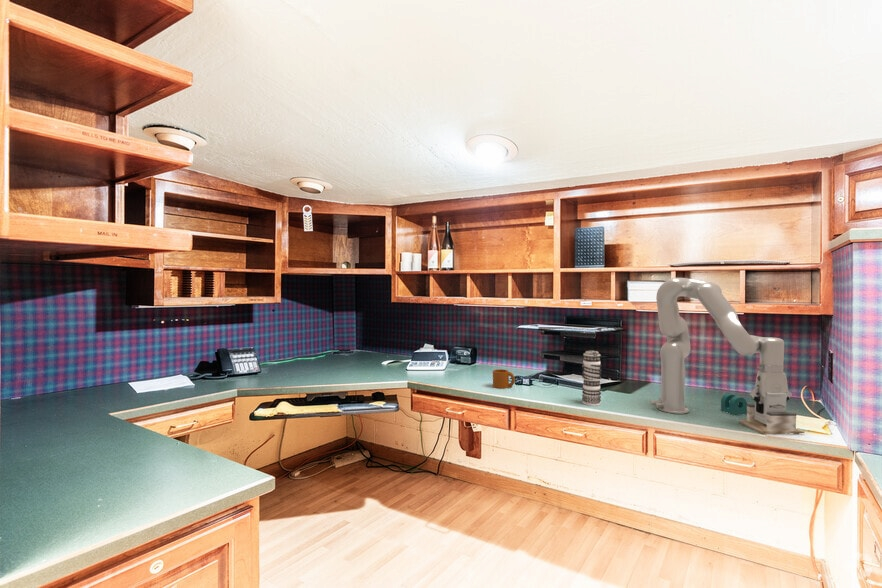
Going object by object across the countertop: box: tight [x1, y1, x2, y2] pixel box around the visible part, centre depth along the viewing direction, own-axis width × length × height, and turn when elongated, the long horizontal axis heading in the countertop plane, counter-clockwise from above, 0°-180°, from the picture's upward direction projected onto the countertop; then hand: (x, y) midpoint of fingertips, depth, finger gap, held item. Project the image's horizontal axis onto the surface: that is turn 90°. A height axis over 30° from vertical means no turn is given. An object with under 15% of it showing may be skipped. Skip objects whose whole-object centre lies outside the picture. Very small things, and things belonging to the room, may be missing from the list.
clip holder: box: [738, 403, 805, 435], centre depth 171 cm, size 16×13×8 cm
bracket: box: [720, 393, 748, 416], centre depth 192 cm, size 18×7×8 cm, turn 99°
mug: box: [492, 369, 516, 390], centre depth 237 cm, size 9×12×9 cm
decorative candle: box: [581, 350, 603, 406], centre depth 206 cm, size 9×9×25 cm
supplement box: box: [754, 391, 787, 425], centre depth 171 cm, size 7×7×13 cm
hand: (770, 412), depth 171 cm, fingers closed on supplement box, 7 cm apart
